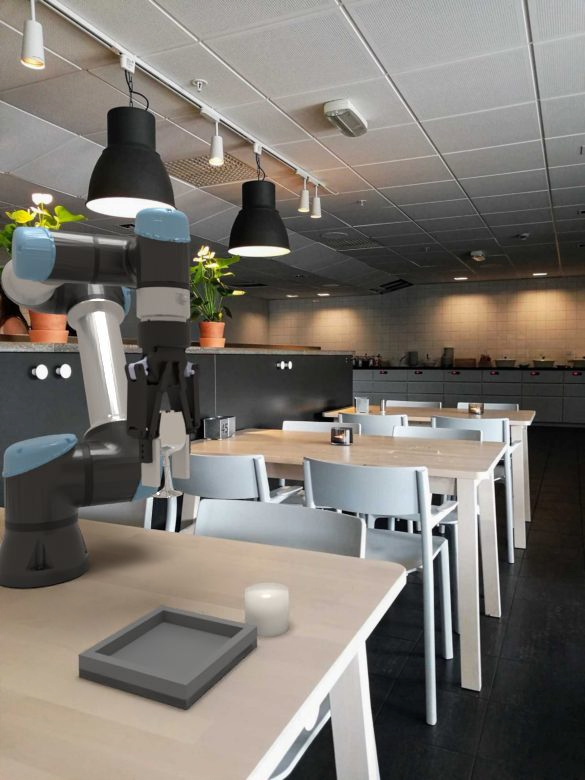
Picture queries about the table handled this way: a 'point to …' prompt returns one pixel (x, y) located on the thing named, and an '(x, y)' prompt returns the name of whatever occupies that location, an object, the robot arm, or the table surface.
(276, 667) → the table surface
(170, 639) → the tray
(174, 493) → the wineglass
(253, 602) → the white pillar candle
